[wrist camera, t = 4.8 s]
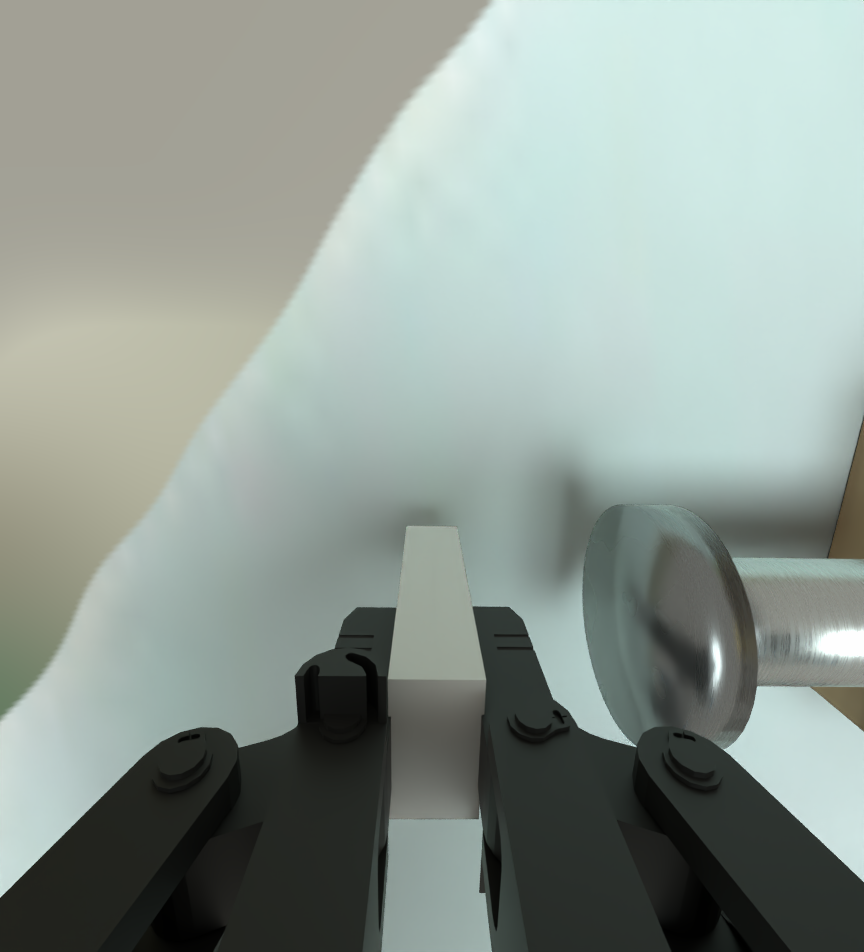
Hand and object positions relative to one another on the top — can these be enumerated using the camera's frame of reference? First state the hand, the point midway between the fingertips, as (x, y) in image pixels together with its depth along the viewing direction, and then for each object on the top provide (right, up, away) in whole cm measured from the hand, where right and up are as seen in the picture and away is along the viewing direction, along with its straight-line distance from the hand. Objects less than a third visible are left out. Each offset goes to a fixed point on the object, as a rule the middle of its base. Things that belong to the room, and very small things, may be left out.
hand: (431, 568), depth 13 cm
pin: (+11, 0, 0) cm, 11 cm away
